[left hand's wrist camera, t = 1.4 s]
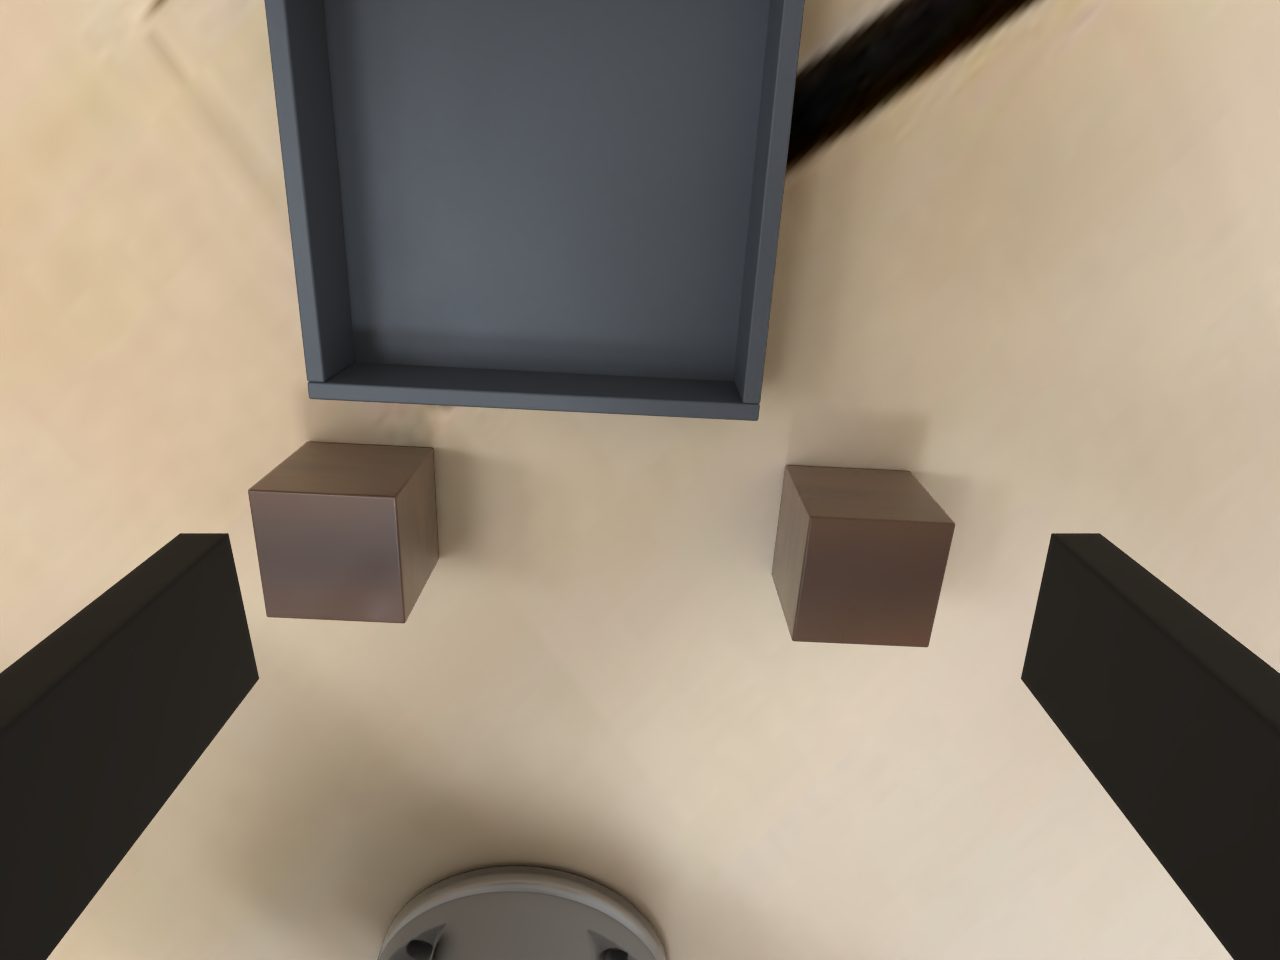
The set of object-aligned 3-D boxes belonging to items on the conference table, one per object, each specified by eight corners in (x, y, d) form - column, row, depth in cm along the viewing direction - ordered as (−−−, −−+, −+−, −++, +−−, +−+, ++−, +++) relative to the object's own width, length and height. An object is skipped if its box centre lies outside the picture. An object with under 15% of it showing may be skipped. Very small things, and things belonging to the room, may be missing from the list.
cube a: (888, 580, 33) (928, 648, 28) (771, 575, 33) (792, 641, 28) (909, 470, 31) (956, 523, 26) (785, 464, 31) (809, 516, 26)
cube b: (439, 559, 33) (405, 624, 28) (319, 553, 33) (266, 617, 28) (433, 447, 31) (396, 496, 26) (306, 441, 31) (246, 489, 26)
